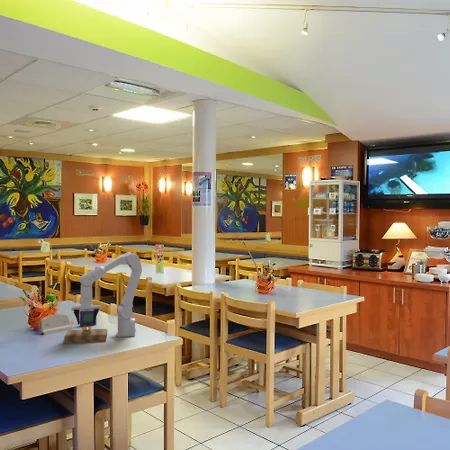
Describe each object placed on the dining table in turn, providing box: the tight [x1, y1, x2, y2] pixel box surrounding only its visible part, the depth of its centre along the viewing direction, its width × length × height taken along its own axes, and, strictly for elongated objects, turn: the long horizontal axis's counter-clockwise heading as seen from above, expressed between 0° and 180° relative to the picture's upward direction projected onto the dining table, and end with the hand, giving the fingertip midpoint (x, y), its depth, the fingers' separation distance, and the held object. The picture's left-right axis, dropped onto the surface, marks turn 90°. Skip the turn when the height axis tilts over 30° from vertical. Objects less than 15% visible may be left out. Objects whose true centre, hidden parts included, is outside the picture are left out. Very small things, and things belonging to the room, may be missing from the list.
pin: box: [81, 326, 92, 334], centre depth 234 cm, size 4×4×6 cm
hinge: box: [38, 313, 73, 336], centre depth 250 cm, size 17×5×10 cm, turn 138°
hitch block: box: [63, 328, 108, 344], centre depth 235 cm, size 20×12×4 cm, turn 101°
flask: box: [79, 310, 97, 327], centre depth 262 cm, size 9×3×11 cm, turn 112°
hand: (86, 323), depth 234 cm, fingers open, 7 cm apart
